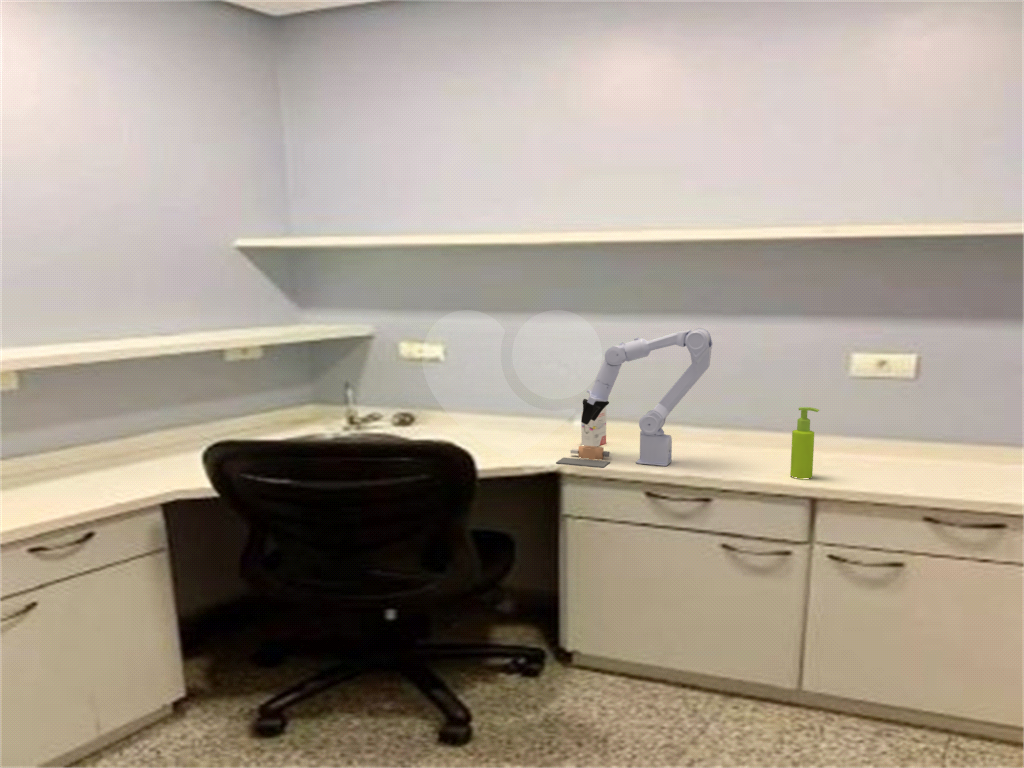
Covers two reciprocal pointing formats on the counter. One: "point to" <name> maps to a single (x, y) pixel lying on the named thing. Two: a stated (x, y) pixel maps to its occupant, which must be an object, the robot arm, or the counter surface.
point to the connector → (590, 452)
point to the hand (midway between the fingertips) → (588, 421)
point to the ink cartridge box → (594, 430)
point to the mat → (583, 462)
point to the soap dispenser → (802, 446)
